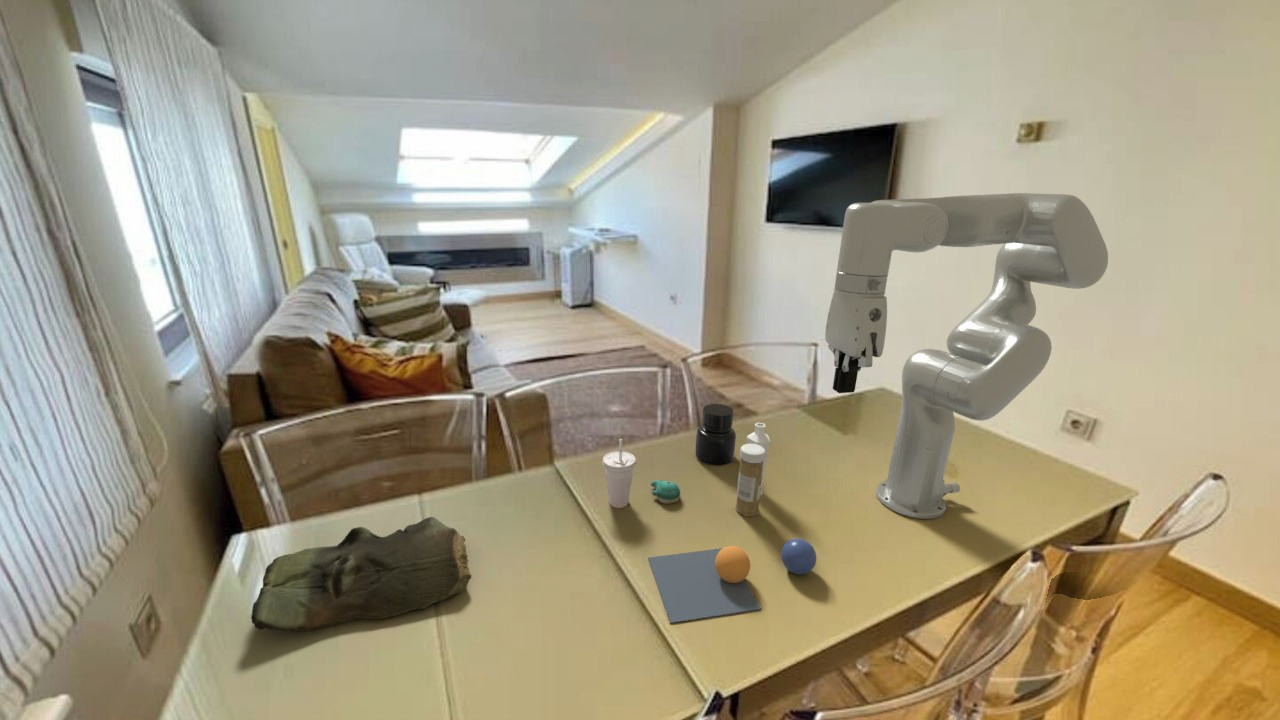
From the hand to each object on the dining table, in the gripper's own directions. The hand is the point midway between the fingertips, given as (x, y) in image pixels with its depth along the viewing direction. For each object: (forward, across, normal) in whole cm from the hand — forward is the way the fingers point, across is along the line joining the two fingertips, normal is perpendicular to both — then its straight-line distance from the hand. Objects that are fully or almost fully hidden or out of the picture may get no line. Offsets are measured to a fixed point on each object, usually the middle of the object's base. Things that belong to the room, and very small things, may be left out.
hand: (843, 390), depth 89 cm
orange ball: (+24, -10, +22) cm, 34 cm away
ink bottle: (+27, +28, +11) cm, 41 cm away
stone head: (+28, 0, +77) cm, 82 cm away
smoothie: (+27, +14, +36) cm, 47 cm away
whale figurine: (+28, +15, +26) cm, 41 cm away
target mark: (+27, -10, +27) cm, 40 cm away
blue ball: (+24, -10, +11) cm, 28 cm away
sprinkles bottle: (+27, +7, +12) cm, 31 cm away
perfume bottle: (+27, +13, +8) cm, 31 cm away
